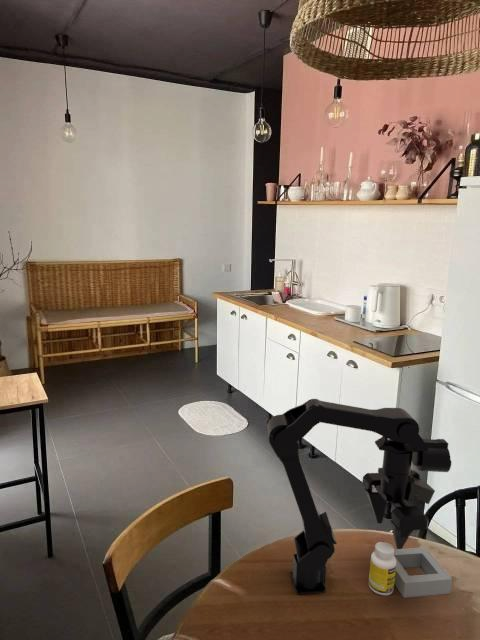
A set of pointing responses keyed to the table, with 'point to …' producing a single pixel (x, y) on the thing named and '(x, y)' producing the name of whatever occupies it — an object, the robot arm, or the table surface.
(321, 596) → the table surface
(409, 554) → the well
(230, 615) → the table surface
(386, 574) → the supplement bottle
